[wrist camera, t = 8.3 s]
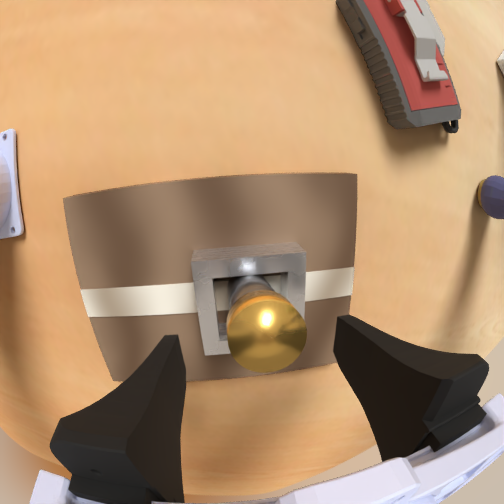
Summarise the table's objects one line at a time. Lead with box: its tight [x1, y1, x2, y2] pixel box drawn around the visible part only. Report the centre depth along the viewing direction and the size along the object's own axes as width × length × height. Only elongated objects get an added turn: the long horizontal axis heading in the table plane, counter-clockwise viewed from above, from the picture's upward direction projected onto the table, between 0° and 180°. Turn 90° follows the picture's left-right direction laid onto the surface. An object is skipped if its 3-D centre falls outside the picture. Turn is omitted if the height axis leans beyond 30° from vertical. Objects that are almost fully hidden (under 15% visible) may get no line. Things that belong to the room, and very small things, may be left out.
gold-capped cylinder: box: [226, 274, 307, 373], centre depth 13 cm, size 3×3×8 cm
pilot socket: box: [191, 242, 306, 356], centre depth 16 cm, size 6×6×2 cm
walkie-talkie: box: [336, 0, 461, 133], centre depth 12 cm, size 9×4×20 cm
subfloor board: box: [63, 173, 357, 381], centre depth 18 cm, size 18×14×2 cm
